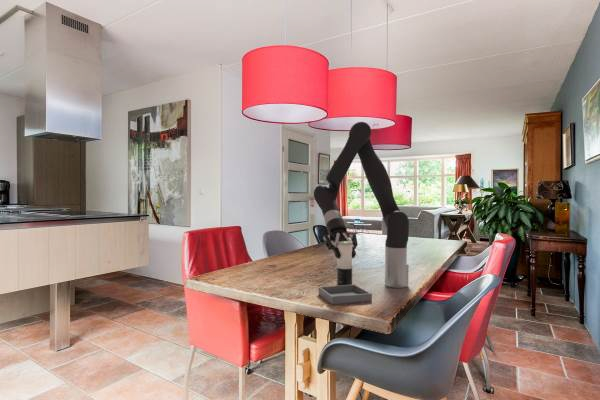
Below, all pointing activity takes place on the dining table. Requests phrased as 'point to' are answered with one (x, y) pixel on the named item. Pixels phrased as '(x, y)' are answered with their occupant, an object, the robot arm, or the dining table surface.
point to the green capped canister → (345, 254)
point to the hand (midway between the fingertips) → (346, 256)
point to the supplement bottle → (344, 276)
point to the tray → (345, 294)
